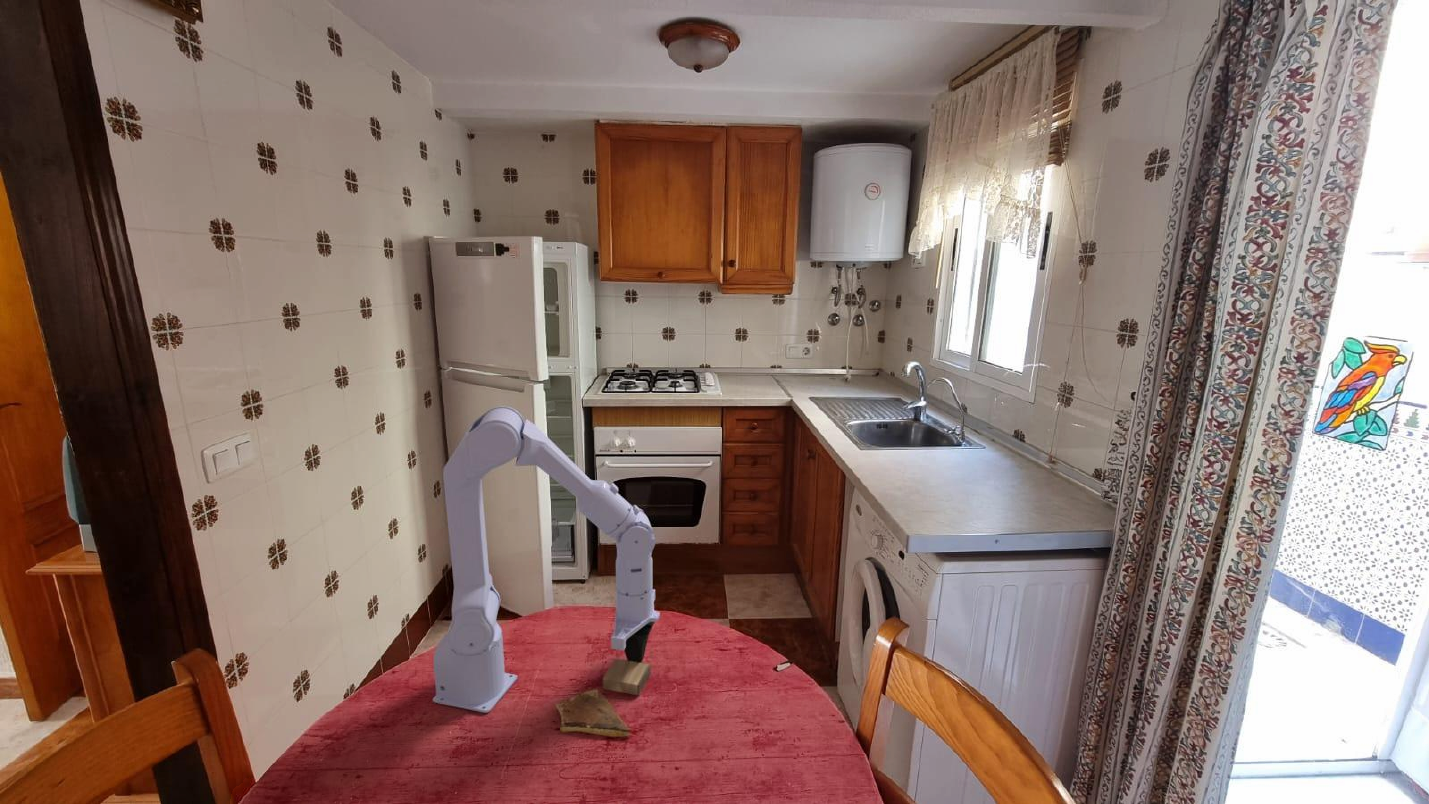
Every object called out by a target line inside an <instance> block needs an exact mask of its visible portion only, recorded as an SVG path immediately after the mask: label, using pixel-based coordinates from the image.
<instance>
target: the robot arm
mask: <svg viewBox="0 0 1429 804" xmlns="http://www.w3.org/2000/svg"><path fill="white" fill-rule="evenodd" d="M515 458H516V461H515V466H517V467H523V466H524V467H525V466H526V467H527V466H530V467H531V466H536V467H538V468H540V469H541V470H542V471H543V472H544V473H545V474H547V475H548V476H549V477H550V478H552V479H553V481H555V482H556V483H558V484H560V486H561V487H563V488H564V489H565V490H567V491H568V492H569V493H570V494H572V495H573V496H574V497H575V498H576V508H577V510H578V511H579V512H580V514H582V515H583V516H584V517H585V518H587V519H588V520H589V521H590V522H591V523H592V524H594V525H595V526H596V527H597V528H598V529H599V530H600V531H601V532H603V533H604V534H605V535H606V536H608V537H610V538H612V539H614V540H615V546H616V559H615V584H616V586H615V587H616V588H615V591H616V594H615V597H616V599H615V601H616V610H615V613H614V614H615V616H614V624H613V625H614V627H613V629H614V630H613V633H612V635H611V637H610V644H611V645H610V646H611V647H610V648H611V649H613V650H618V651H624V654H625V657H626V660H628V661H634V662H639V663H643V660H644V657H645V653H646V648H647V644H648V639H649V637H650V633H651V630H652V629H653V626H654V624H655V623H656V622H657V621H658V620H659V619H660V615H661V613H660V611H657V610H655V603H654V602H655V600H656V589H655V588H654V589H653V579H654V578H653V557H652V553H653V550H654V548H655V545H656V542H657V539H656V538H655V534H654V530H653V528H652V524H651V522H650V520H649V518H648V516H647V514H645V512H644V510H643V509H641V508H639V507H638V505H636V504H633V505H632V504H631V503H629V502H628V501H627V500H626V499H625V498H624V497H623V496H621V494H619V487H618V486H617V485H616V484H615V483H614V482H611V483H609V484H608V483H607V482H606V481H605V480H603V479H602V480H601V479H598V480H597V479H595V480H593V479H590V477H588V476H587V475H586V474H585V472H583V471H582V470H581V468H580V467H579V466H578V465H576V464H575V462H573V461H572V460H571V458H569V456H567V454H566V453H564V452H563V451H562V450H561V449H560V448H559V447H558V446H557V445H556V443H554V442H553V441H552V440H551V439H550V438H549V437H548V436H547V435H546V433H544V432H543V431H542V430H541V429H539V427H538V426H536V424H534V423H533V422H532V421H530V420H529V419H524V418H523V416H522V414H521V413H520V412H519V411H517V410H516V409H515V408H513V407H510V406H506V405H500V406H495V407H492V408H490V409H488V410H487V411H486V412H484V413H483V414H482V415H480V416H479V417H478V418H477V419H475V420H474V421H473V423H472V424H471V425H470V428H468V430H467V432H466V433H465V435H464V436H463V438H462V440H461V441H460V443H459V444H458V445H457V447H456V448H455V450H454V452H453V453H452V455H451V456H450V458H449V459H448V460H447V462H446V464H445V465H444V467H443V471H442V478H443V486H444V487H443V488H444V499H445V508H446V519H447V528H448V529H447V530H448V540H449V547H450V548H449V549H450V559H451V569H452V579H453V580H452V581H453V592H452V593H453V595H452V603H451V623H450V624H449V627H448V629H447V632H446V634H445V635H444V636H442V638H441V639H440V640H439V642H438V644H437V645H436V647H435V649H434V654H433V663H432V665H433V672H434V673H433V674H434V684H435V696H434V697H433V698H432V702H433V703H436V704H441V705H445V706H451V707H456V708H460V709H465V710H471V711H475V712H480V713H485V714H486V713H490V711H492V710H493V708H494V707H495V706H496V704H497V703H498V702H499V701H500V700H501V699H502V697H503V696H504V695H505V694H506V692H508V690H509V689H510V688H511V687H512V686H513V684H514V683H515V682H516V681H517V679H518V675H517V674H512V673H508V672H505V671H506V670H505V657H504V643H503V631H502V630H503V629H502V628H501V626H500V625H499V624H498V622H497V616H498V612H499V609H500V606H501V597H500V593H499V592H498V591H497V589H496V588H495V586H494V584H493V576H492V574H491V573H490V568H489V567H490V566H489V557H488V554H489V553H488V543H487V531H486V521H485V520H486V517H485V509H484V508H485V506H484V505H485V504H484V493H483V484H482V483H483V482H482V479H483V478H484V477H485V476H486V475H488V473H490V472H491V471H492V470H495V469H497V468H499V467H501V466H504V465H505V464H507V463H509V462H511V461H512V460H514V459H515Z"/></svg>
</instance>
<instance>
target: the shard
mask: <svg viewBox="0 0 1429 804" xmlns="http://www.w3.org/2000/svg"><path fill="white" fill-rule="evenodd" d="M555 707H556V708H557V710H558V712H559V714H560V717H561V725H560V731H561V732H564V733H566V732H582V733H588V734H591V735H599V736H600V735H601V736H608V737H615V738H617V737H625V738H626V737H630V734H631V733H632V731H631V730H630V728H628V727H629V726H627V725H626V723H625V722H624V721H623V719H621V717H620V716H619V714H618V713H617V711H616V710H615V708H614V707H613V706H612V704H611V703H610V702H609V701H608V698H606V697H605V695H603V694H602V693H601V691H600V690H599V689H593V690H592V689H591V690H587V691H586V690H585V691H583V692H581V693H578V694H576V695H574V696H572V697H570V698H567V699H565V700H562V701H560V702H558V703H557V704H556V705H555Z"/></svg>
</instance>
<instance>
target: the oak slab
mask: <svg viewBox="0 0 1429 804" xmlns="http://www.w3.org/2000/svg"><path fill="white" fill-rule="evenodd" d="M651 665H652V664H649V663H645V662H642V663H639V662H634V661H628V660H627V659H622V658H617V657H616V658H615V659H614V660H613V662H612V664H611V665H610V667H609V668H608V669H607V671H606V673H605V675H604V676H603V678H602V689H603V690H608V691H612V692H613V691H614V692H618V693H623V694H624V693H625V694H628V695H629V694H630V695H634V696H638V697H639V696H641V693H642V691H643V689H644V688H645V686H646V684H647V682H648V680H649V678H650V676H651V671H652V669H651Z"/></svg>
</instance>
